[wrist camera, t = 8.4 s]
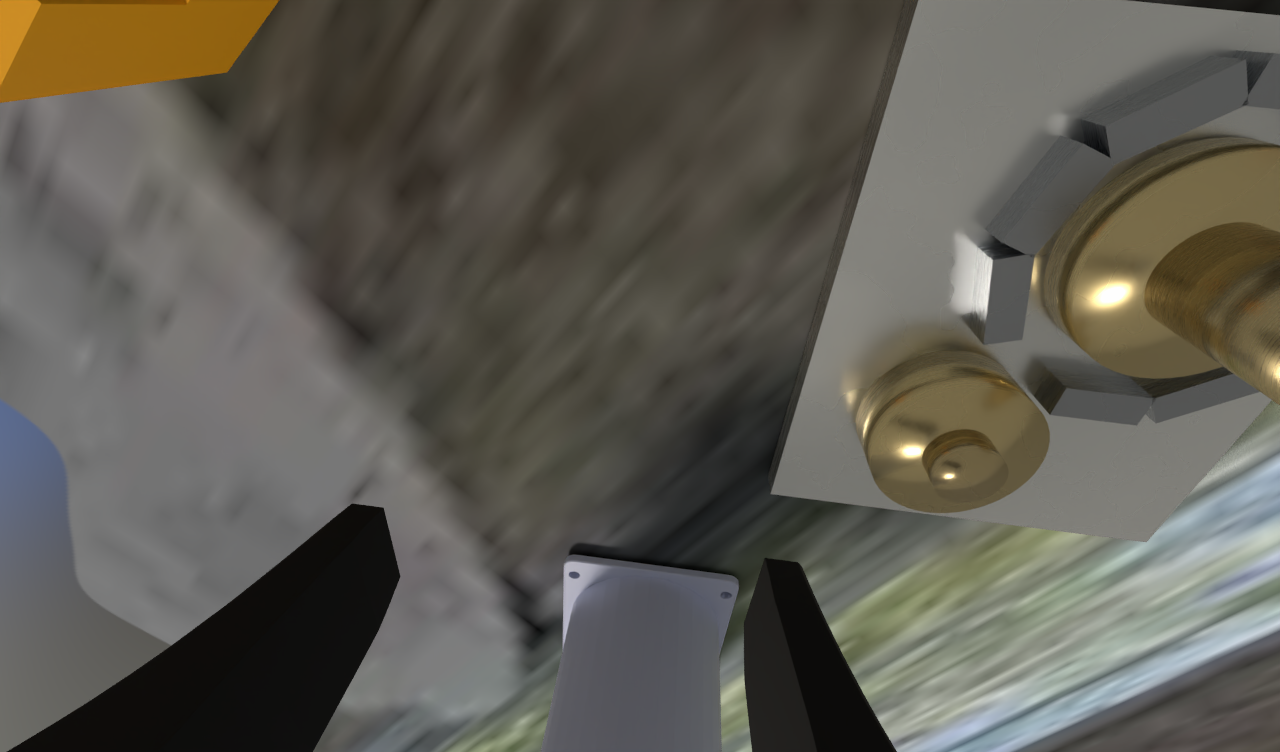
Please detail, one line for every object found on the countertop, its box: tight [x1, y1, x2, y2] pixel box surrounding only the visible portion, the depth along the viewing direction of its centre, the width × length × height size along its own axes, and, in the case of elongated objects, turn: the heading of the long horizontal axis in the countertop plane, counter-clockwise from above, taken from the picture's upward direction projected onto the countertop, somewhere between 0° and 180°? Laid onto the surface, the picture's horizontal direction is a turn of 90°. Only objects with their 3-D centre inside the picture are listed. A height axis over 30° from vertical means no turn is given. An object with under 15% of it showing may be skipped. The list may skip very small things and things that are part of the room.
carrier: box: [768, 0, 1280, 542], centre depth 16 cm, size 16×14×4 cm
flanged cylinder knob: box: [1044, 137, 1280, 405], centre depth 13 cm, size 6×6×6 cm
